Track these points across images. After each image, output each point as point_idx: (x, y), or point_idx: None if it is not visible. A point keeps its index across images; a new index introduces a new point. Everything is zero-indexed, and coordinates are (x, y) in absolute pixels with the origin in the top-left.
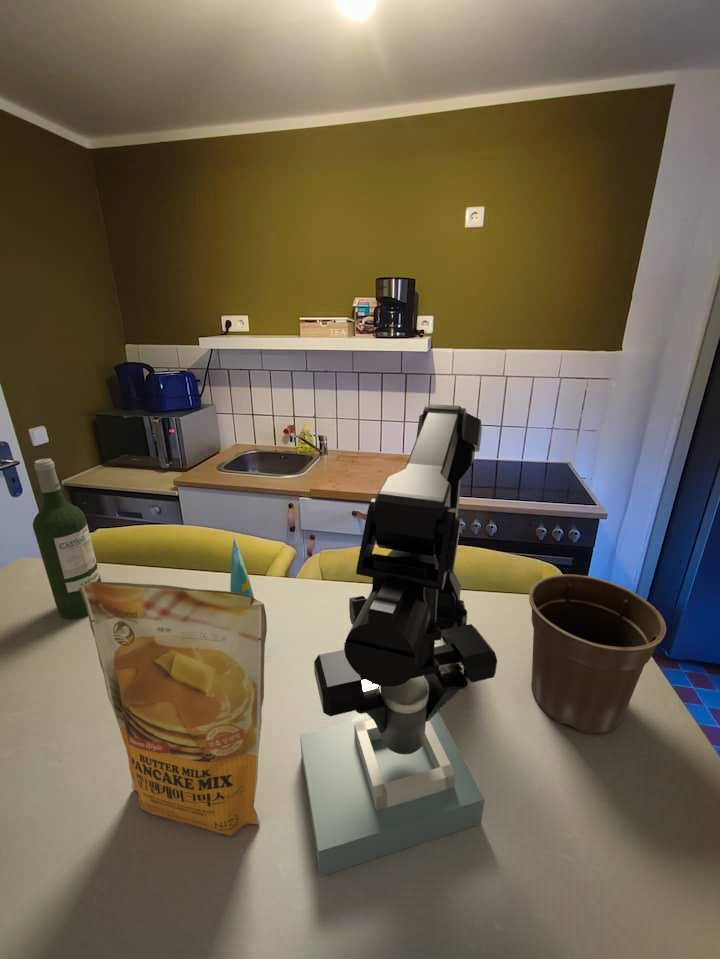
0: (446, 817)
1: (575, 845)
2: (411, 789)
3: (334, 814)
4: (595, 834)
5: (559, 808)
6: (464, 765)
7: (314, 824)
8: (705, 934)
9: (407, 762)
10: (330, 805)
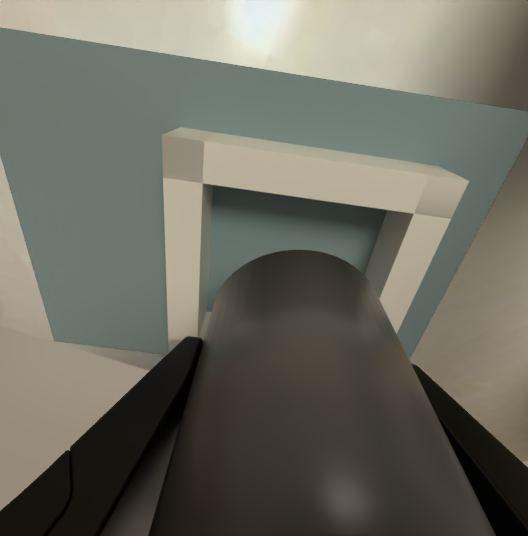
0: None
1: (470, 391)
2: None
3: (88, 303)
4: (510, 393)
5: (508, 359)
6: (421, 326)
7: (44, 302)
8: None
9: None
10: (81, 283)
